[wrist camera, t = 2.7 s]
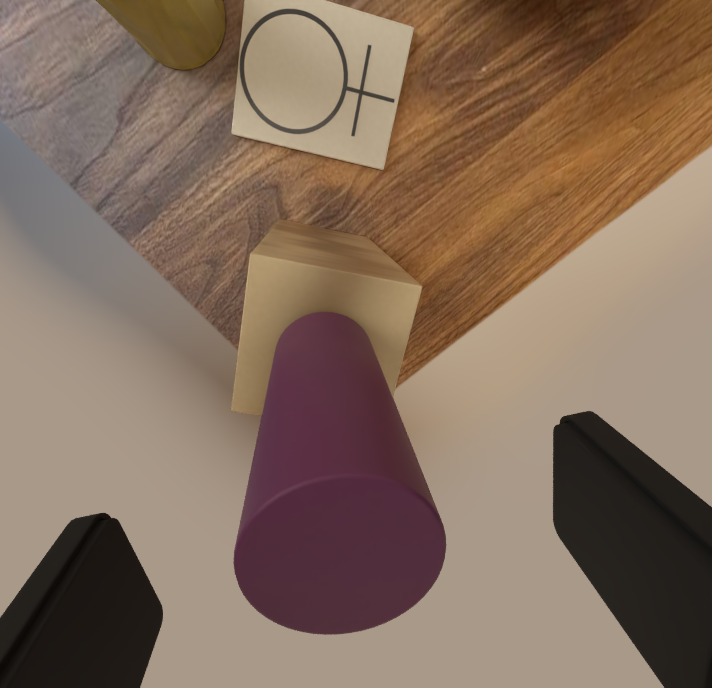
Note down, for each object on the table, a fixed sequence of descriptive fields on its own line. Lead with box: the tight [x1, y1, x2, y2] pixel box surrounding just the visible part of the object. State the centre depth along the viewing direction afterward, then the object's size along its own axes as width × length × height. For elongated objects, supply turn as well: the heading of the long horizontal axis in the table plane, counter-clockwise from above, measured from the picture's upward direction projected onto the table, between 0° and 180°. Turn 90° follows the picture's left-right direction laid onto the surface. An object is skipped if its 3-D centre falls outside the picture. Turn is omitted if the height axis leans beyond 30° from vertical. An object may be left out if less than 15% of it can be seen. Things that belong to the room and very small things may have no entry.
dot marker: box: [234, 312, 446, 634], centre depth 13 cm, size 4×4×11 cm
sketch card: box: [231, 0, 414, 170], centre depth 28 cm, size 11×9×1 cm
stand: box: [231, 219, 422, 415], centre depth 25 cm, size 7×7×17 cm
